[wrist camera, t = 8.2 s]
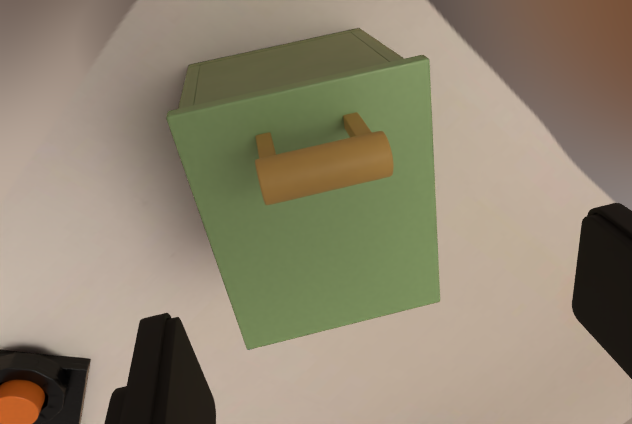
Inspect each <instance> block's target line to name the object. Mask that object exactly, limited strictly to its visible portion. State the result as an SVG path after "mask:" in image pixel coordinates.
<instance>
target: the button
mask: <svg viewBox="0 0 632 424" xmlns="http://www.w3.org/2000/svg"><path fill="white" fill-rule="evenodd" d="M44 400H45V393H44V391H43V389H42V388H41V387H40V386H39V385H37V384H35V383H33V382H31V381H27V380H10V381H7V382H5V383H3V384H1V385H0V424H33V423H34V422H35V421H36V420H37V418H38V416H39V413H40V411H41V408H42V405H43V403H44Z"/></svg>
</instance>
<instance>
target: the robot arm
mask: <svg viewBox="0 0 632 424" xmlns="http://www.w3.org/2000/svg"><path fill="white" fill-rule="evenodd" d="M572 309H573V312H574V315H575V317H576V318H577V320H578V321H579V322H580V323H581V324H582V325H583V326H584V327H585V328H586V330H587V331H588V332H589V333H590V334H591V335H592V336H593V337H594V338H595V339H596V340H597V342H598V343H599V344H600V345H601V346H602V347H603V348H604V349H605V350H606V351H607V353H608V354H609V355H610V356H611V357H612V358H613V359H614V360H615V361H616V362H617V363H618V365H619V366H620V367H621V368H622V369H623V370H624V371H625V372H626V373H627V374H628V375H629V377H630V378H631V379H632V211H631V210H629V209H628V208H627V207H625V206H624V205H622V204H620V203H613V204H609V205H605V206H601V207H597V208H593V209H591V210H590V211H589V212H588V215H587V217H585V218H584V219H583V221H582V226H581V234H580V242H579V251H578V259H577V267H576V275H575V283H574V291H573V300H572ZM105 424H216V409H215V403H214V399H213V396H212V393H211V391H210V389H209V386H208V384H207V381H206V379H205V377H204V374H203V372H202V370H201V367H200V365H199V362H198V360H197V358H196V355H195V353H194V351H193V348H192V346H191V343H190V341H189V339H188V336H187V334H186V331H185V329H184V327H183V324H182V322H181V320H180V318H179V317H176V318H171V316H170V315H169V314H168V313H164V314H160V315H156V316H152V317H148V318H144V319H141V320H140V323H139V328H138V333H137V338H136V343H135V348H134V352H133V357H132V362H131V367H130V372H129V377H128V382H127V386H125V387H121V388H117V389H115V390H114V392H113V393H112V396H111V399H110V402H109V407H108V411H107V415H106V420H105Z"/></svg>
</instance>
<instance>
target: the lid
mask: <svg viewBox="0 0 632 424" xmlns="http://www.w3.org/2000/svg"><path fill="white" fill-rule="evenodd" d="M166 119H167V122H168V125H169V127H170V130H171V133H172V136H173V139H174V142H175V145H176V147H177V150H178V153H179V156H180V159H181V162H182V165H183V167H184V170H185V173H186V176H187V179H188V182H189V185H190V188H191V190H192V193H193V196H194V199H195V202H196V205H197V208H198V210H199V213H200V216H201V219H202V222H203V225H204V228H205V230H206V233H207V236H208V239H209V242H210V245H211V248H212V251H213V253H214V256H215V259H216V262H217V265H218V268H219V271H220V273H221V276H222V279H223V282H224V285H225V288H226V291H227V294H228V296H229V299H230V302H231V305H232V308H233V311H234V314H235V316H236V319H237V322H238V325H239V328H240V331H241V334H242V336H243V339H244V342H245V345H246V348H247V349H248V350H250V349H254V348H258V347H262V346H266V345H270V344H274V343H278V342H282V341H286V340H290V339H293V338H297V337H301V336H305V335H309V334H313V333H317V332H321V331H325V330H329V329H333V328H337V327H341V326H345V325H349V324H353V323H357V322H361V321H365V320H369V319H373V318H377V317H381V316H385V315H389V314H393V313H397V312H401V311H405V310H409V309H413V308H417V307H421V306H425V305H429V304H433V303H437V302H440V287H439V265H438V243H437V220H436V198H435V176H434V154H433V132H432V110H431V87H430V65H429V59H428V58H427V57H426V56H424V55H419V56H415V57H410V58H406V59H401V60H397V61H392V62H388V63H383V64H379V65H374V66H370V67H365V68H361V69H356V70H352V71H347V72H343V73H338V74H334V75H329V76H325V77H320V78H316V79H311V80H307V81H302V82H298V83H293V84H289V85H284V86H279V87H275V88H270V89H266V90H261V91H257V92H252V93H248V94H243V95H239V96H234V97H230V98H225V99H221V100H216V101H212V102H207V103H203V104H198V105H194V106H189V107H185V108H180V109H176V110H171V111H168V113H167V117H166Z"/></svg>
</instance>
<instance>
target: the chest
mask: <svg viewBox="0 0 632 424" xmlns="http://www.w3.org/2000/svg"><path fill="white" fill-rule="evenodd" d="M401 59H404V58H403V57H401V56H400V55H398V54H397V53H395V52H394V51H392V50H391V49H389V48H388V47H386V46H385V45H383V44H382V43H381V42H379V41H378V40H376V39H375V38H373V37H372V36H370V35H369V34H367V33H366V32H364V31H363V30H361V29H360V28H357V29H352V30H348V31H343V32H339V33H334V34H329V35H325V36H320V37H315V38H311V39H306V40H302V41H297V42H292V43H288V44H283V45H279V46H274V47H269V48H265V49H260V50H255V51H251V52H246V53H242V54H237V55H232V56H228V57H223V58H218V59H214V60H209V61H205V62H200V63H195V64H191V65H189V66H188V69H187V74H186V78H185V82H184V86H183V90H182V94H181V99H180V103H179V107H178V109H180V108H185V107H189V106H194V105H198V104H203V103H207V102H212V101H216V100H221V99H225V98H230V97H234V96H239V95H243V94H248V93H252V92H257V91H261V90H266V89H270V88H275V87H279V86H284V85H289V84H293V83H298V82H302V81H307V80H311V79H316V78H320V77H325V76H329V75H334V74H338V73H343V72H347V71H352V70H356V69H361V68H365V67H370V66H374V65H379V64H383V63H388V62H392V61H397V60H401Z"/></svg>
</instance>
